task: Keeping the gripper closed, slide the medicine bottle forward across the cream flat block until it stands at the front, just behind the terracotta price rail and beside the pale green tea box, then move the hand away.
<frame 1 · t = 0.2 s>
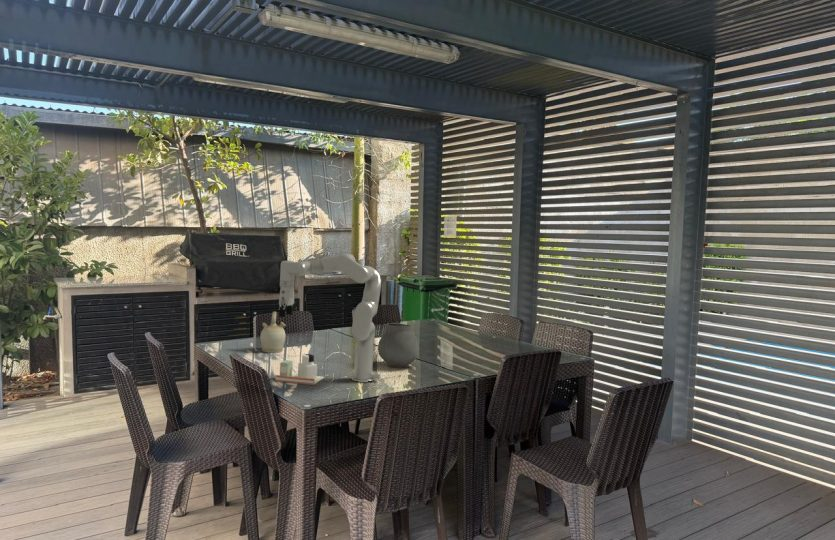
hand: (285, 315, 308), 31 cm above the table, tool pointing down, fingers open, 9 cm apart
ceramic pot: (397, 366, 338), on the table
tea box: (285, 379, 294), resting on cream flat block
jug: (272, 351, 360), on the table
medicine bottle: (307, 377, 300), resting on cream flat block
cream flat block: (300, 379, 296), on the table
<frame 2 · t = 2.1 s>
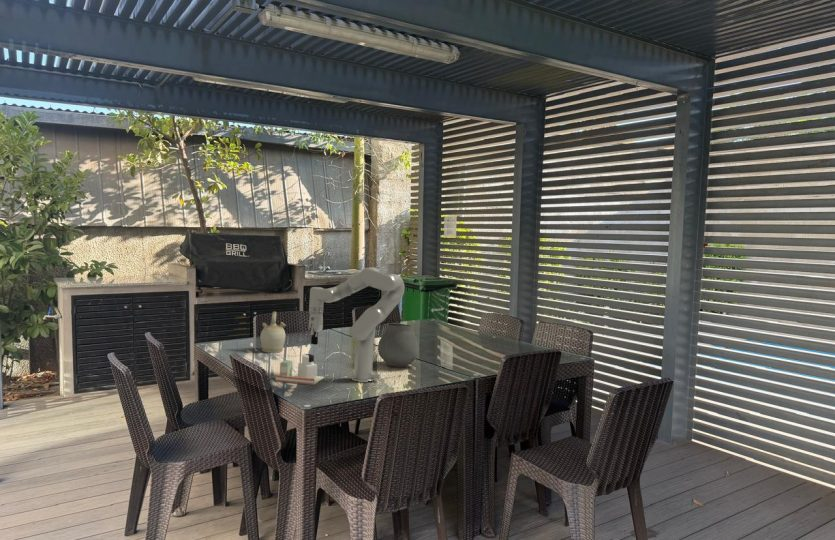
hand: (314, 344, 308), 16 cm above the table, tool pointing down, fingers closed
nothing on the table moved.
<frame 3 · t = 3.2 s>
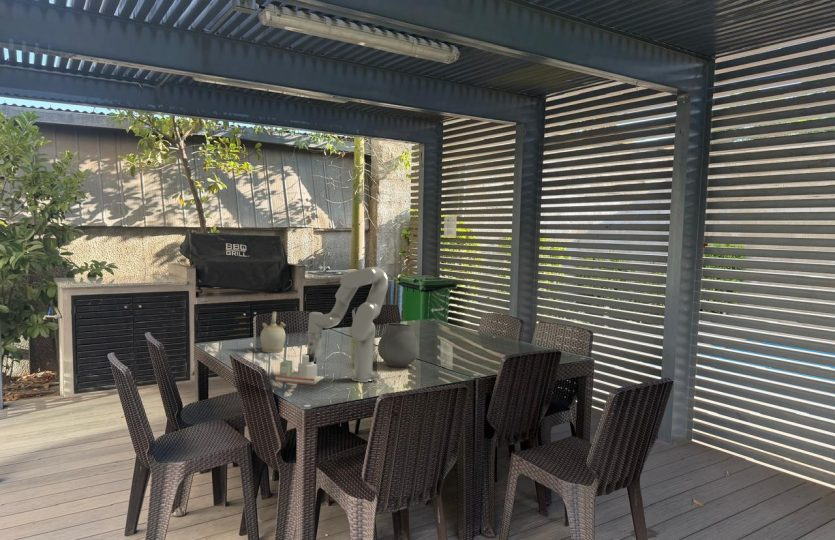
hand: (312, 368, 309), 3 cm above the table, tool pointing down, fingers closed
nothing on the table moved.
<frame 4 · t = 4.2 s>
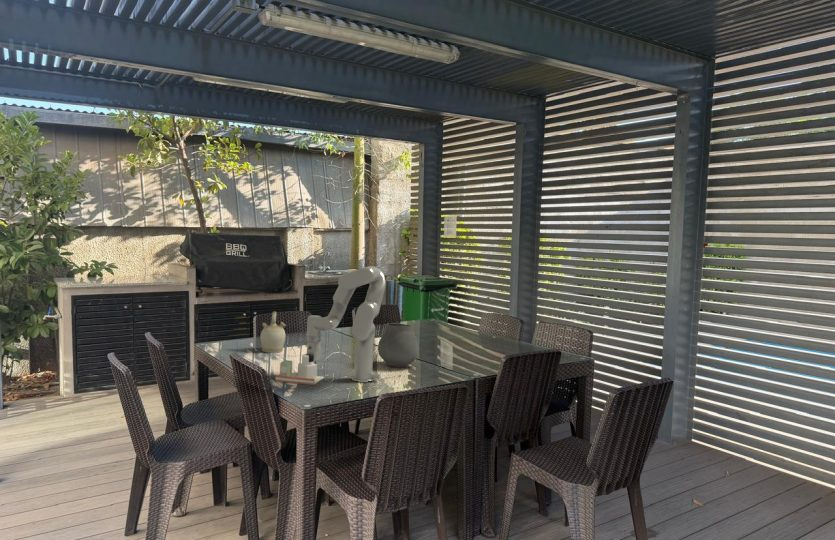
hand: (312, 372, 307), 1 cm above the table, tool pointing down, fingers closed
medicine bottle: (307, 377, 300), resting on cream flat block, touching gripper
everything else where it was.
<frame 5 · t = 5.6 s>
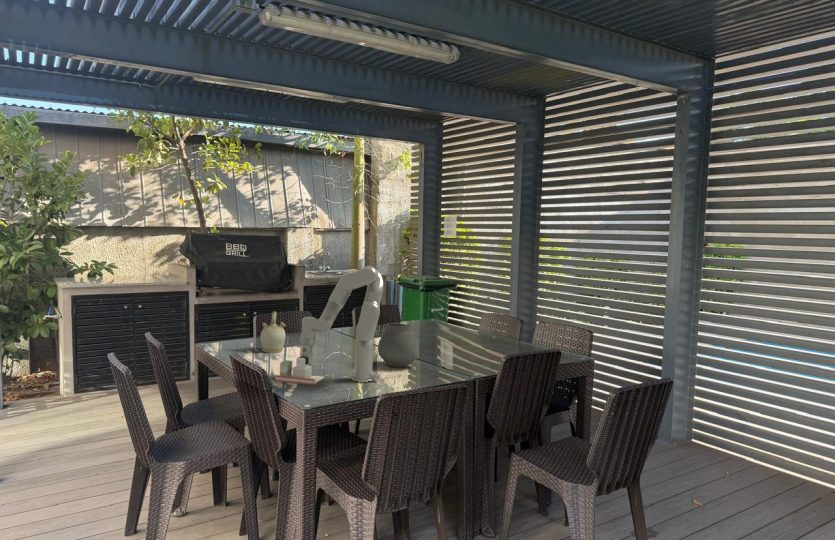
hand: (306, 375, 300), 1 cm above the table, tool pointing down, fingers closed
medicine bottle: (301, 380, 293), resting on cream flat block
everything else where it was.
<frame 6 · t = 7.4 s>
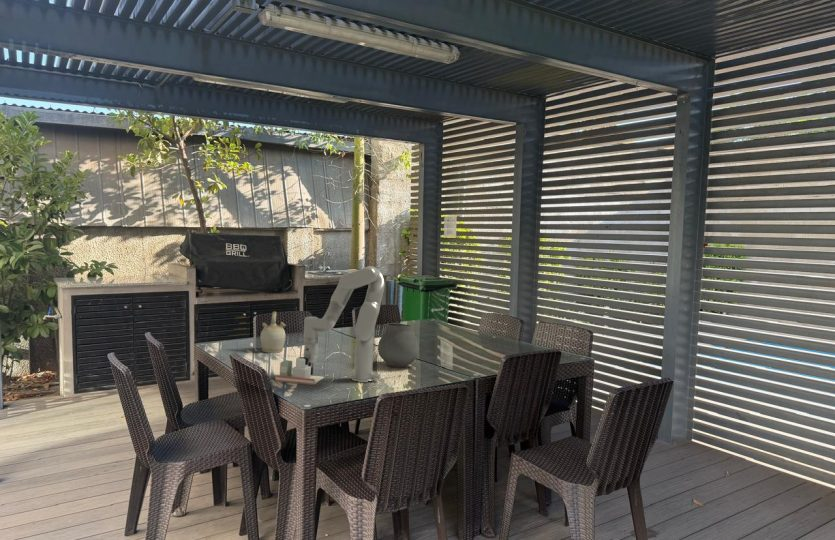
hand: (309, 374, 303), 1 cm above the table, tool pointing down, fingers closed
nothing on the table moved.
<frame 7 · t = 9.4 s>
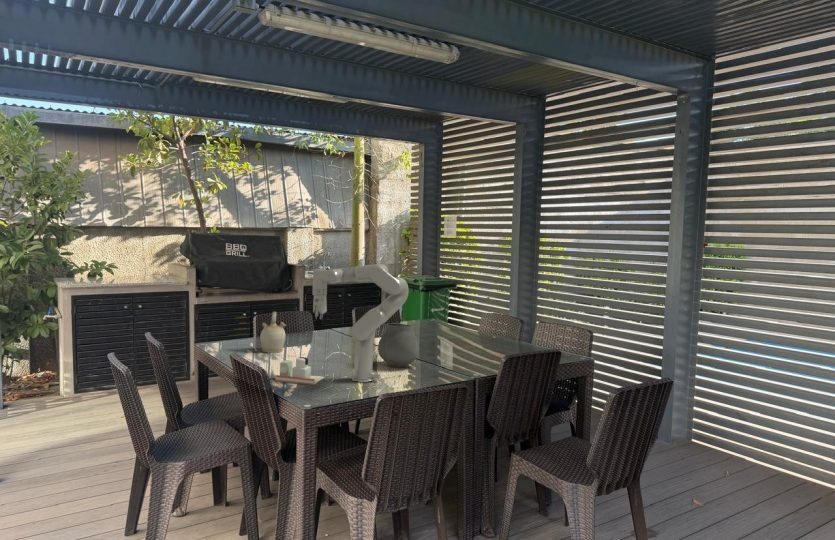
hand: (319, 326, 307), 26 cm above the table, tool pointing down, fingers closed
nothing on the table moved.
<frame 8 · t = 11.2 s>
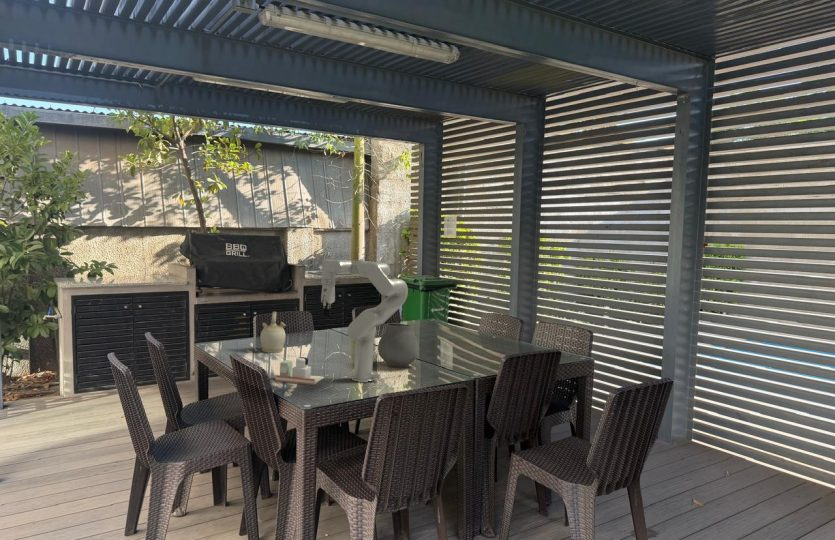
hand: (326, 315, 312), 31 cm above the table, tool pointing down, fingers closed
nothing on the table moved.
at the end: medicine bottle inside the target area (0.6 cm from its centre), resting on cream flat block; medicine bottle tilted 0°; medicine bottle moved 7.6 cm from its start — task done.
